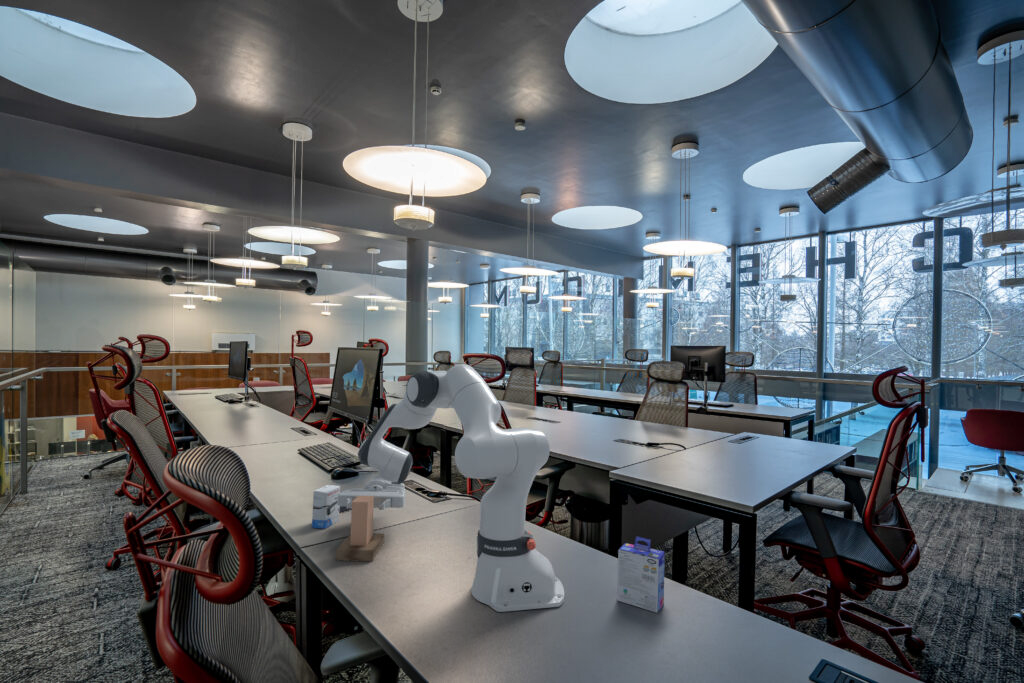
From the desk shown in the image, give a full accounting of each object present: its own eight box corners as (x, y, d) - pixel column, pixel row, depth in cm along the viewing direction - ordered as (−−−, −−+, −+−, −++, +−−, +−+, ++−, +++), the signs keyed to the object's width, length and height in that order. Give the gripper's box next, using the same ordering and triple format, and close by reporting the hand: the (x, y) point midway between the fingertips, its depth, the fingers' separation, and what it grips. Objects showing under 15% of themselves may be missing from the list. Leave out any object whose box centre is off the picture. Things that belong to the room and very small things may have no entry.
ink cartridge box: (665, 603, 110) (666, 541, 110) (658, 614, 105) (659, 549, 105) (624, 591, 115) (625, 532, 115) (616, 601, 110) (617, 539, 111)
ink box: (324, 529, 150) (326, 492, 150) (311, 528, 151) (312, 491, 151) (339, 520, 158) (341, 485, 159) (326, 519, 159) (327, 484, 160)
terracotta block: (372, 537, 137) (373, 495, 137) (366, 545, 131) (367, 502, 131) (357, 536, 137) (358, 495, 137) (350, 545, 131) (351, 501, 131)
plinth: (384, 543, 140) (384, 533, 140) (372, 561, 128) (373, 550, 128) (350, 543, 140) (350, 532, 140) (336, 560, 128) (336, 549, 128)
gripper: (345, 481, 151) (329, 494, 137) (409, 483, 151) (399, 496, 137) (344, 501, 151) (328, 516, 137) (408, 503, 151) (399, 518, 137)
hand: (365, 506), depth 137 cm, fingers open, 8 cm apart
